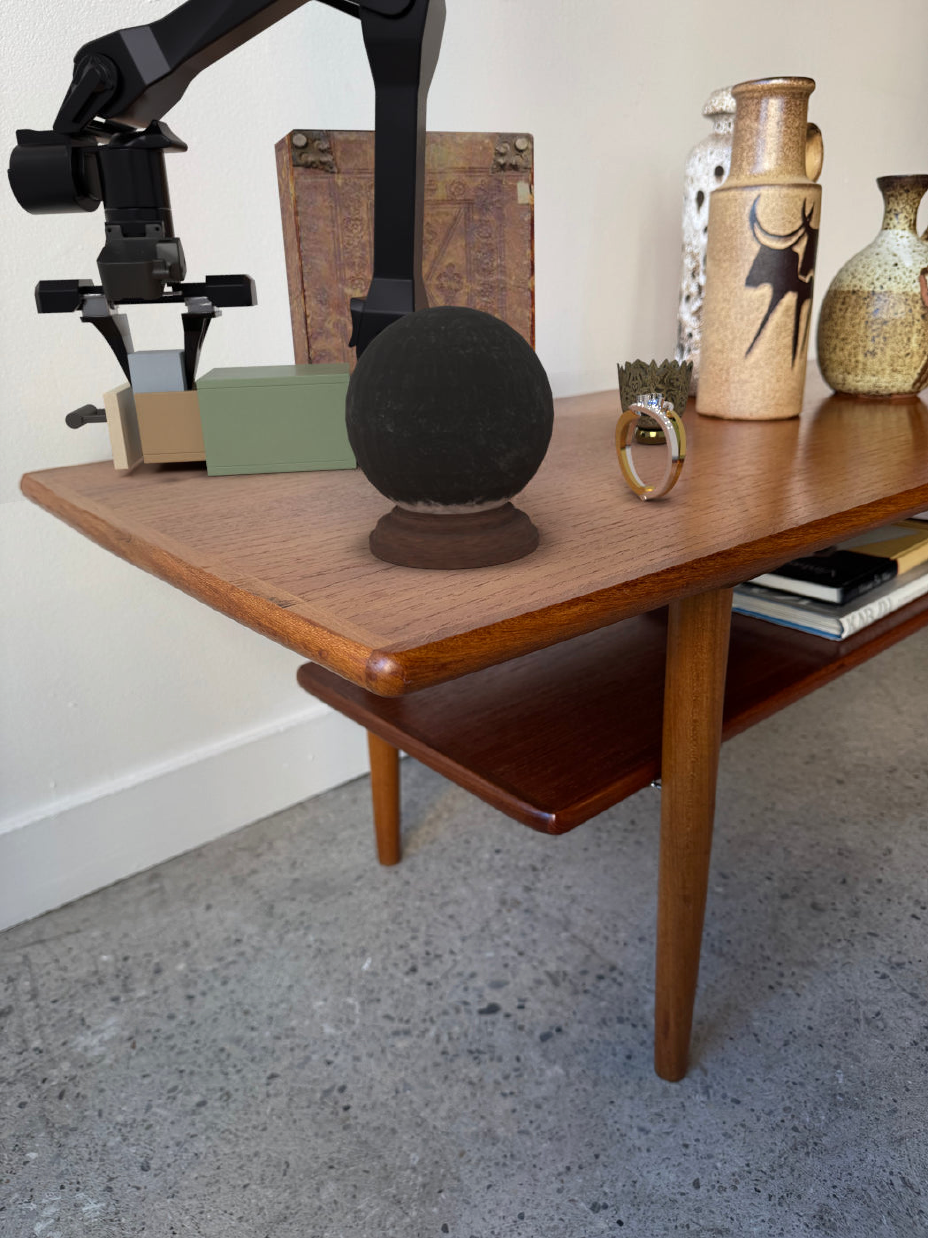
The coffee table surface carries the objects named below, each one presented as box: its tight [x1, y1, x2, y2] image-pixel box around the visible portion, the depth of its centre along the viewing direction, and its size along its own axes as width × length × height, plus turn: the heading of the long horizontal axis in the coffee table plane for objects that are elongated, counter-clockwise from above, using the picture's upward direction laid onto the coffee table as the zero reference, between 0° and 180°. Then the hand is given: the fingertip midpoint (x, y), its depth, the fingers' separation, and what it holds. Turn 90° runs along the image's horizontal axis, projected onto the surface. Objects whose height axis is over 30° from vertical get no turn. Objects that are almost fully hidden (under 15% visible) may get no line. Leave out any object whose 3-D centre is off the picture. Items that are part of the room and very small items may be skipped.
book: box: [273, 128, 536, 375], centre depth 100 cm, size 25×9×30 cm, turn 110°
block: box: [128, 348, 193, 401], centre depth 86 cm, size 5×5×5 cm
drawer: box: [64, 380, 206, 471], centre depth 88 cm, size 17×10×7 cm, turn 97°
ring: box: [614, 393, 687, 501], centre depth 70 cm, size 7×3×8 cm, turn 23°
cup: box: [616, 357, 694, 445], centre depth 93 cm, size 8×7×8 cm
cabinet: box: [195, 363, 358, 477], centre depth 89 cm, size 14×12×9 cm
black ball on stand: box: [345, 306, 555, 570], centre depth 59 cm, size 13×13×15 cm
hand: (163, 390), depth 87 cm, fingers closed on block, 4 cm apart
